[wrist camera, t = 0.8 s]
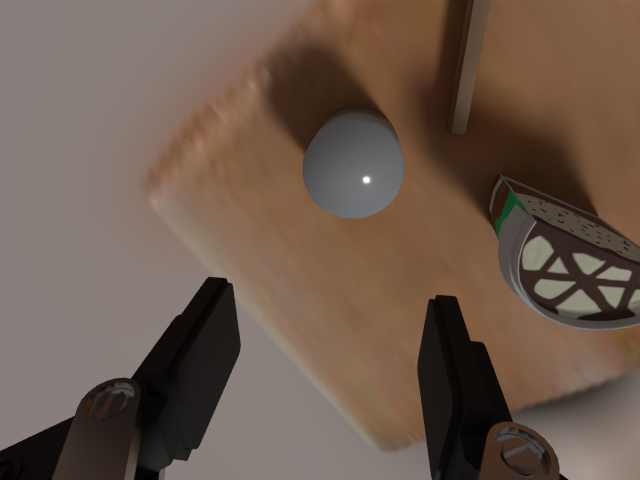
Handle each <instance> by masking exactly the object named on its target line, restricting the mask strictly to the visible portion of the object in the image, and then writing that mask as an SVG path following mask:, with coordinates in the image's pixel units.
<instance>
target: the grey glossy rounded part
mask: <svg viewBox="0 0 640 480" xmlns="http://www.w3.org/2000/svg"><path fill="white" fill-rule="evenodd" d="M403 176H404V164H403V158H402V154H401V150H400V146H399V142H398V137H397V134H396V132H395V129H394V128H393V126H392V124H391V123H390V122H389V120H388V119H387V118H386V117H385V116H383V115H382V114H381V113H379V112H377V111H375V110H373V109H370V108H366V107H359V106H358V107H348V108H345V109H342V110H339V111H337V112H336V113H334V114H333V115H331V116H330V117H329V118H328V119H327V120H326V121H325V122H324V123H323V125H322V126H321V128H320V129H319V131H318V132H317V134H316V135H315V137H314V139H313V140H312V142H311V143H310V145H309V147H308V149H307V151H306V153H305V156H304V161H303V179H304V183H305V186H306V188H307V190H308V192H309V194H310V196H311V197H312V199H313V200H314V201H315V202H316V203H317V204H318V205H319V206H320V207H321V208H323V209H324V210H325V211H327V212H329V213H331V214H333V215H336V216H339V217H343V218H363V217H368V216H371V215H373V214H375V213H377V212H379V211H381V210H382V209H384V208H385V207H386V206H387V205H389V204H390V203H391V202H392V200H393V199H394V198H395V196H396V195H397V193H398V191H399V189H400V187H401V184H402V181H403Z"/></svg>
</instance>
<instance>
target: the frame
mask: <svg viewBox="0 0 640 480" xmlns="http://www.w3.org/2000/svg"><path fill="white" fill-rule="evenodd" d="M490 1H491V0H468V1H467V7H466V13H465V19H464V25H463V31H462V37H461V43H460V49H459V56H458V62H457V68H456V74H455V80H454V86H453V92H452V98H451V104H450V111H449V117H448V123H447V130H448V131H449V132H450V133H451V134H458V135H465V133H466V128H467V122H468V117H469V112H470V107H471V101H472V96H473V91H474V85H475V80H476V75H477V69H478V64H479V59H480V54H481V48H482V43H483V38H484V32H485V27H486V22H487V17H488V11H489V6H490Z"/></svg>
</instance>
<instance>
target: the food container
mask: <svg viewBox="0 0 640 480" xmlns="http://www.w3.org/2000/svg"><path fill="white" fill-rule="evenodd" d="M488 209H489V218H490V221H491V223H492V226H493V228H494V231H495V233H496V235H497V238H498V240H499V250H498V258H499V264H500V269H501V272H502V274H503V277H504V279H505V281H506V282H507V284H508V286H509V287H510V289H511V290H512V291H513V292H514V293H515V294H516V295H517V296H518V297H519V298H520V299H521V300H522V301H523V302H524V303H526V304H527V305H528V306H529V307H530V308H532V309H533V310H534V311H536V312H537V313H538V314H540V315H542V316H544V317H546V318H548V319H550V320H552V321H554V322H556V323H559V324H562V325H565V326H568V327H573V328H579V329H586V330H613V329H620V328H627V327H631V326H635V325H640V247H639V246H638V245H637V244H635V243H634V242H632V241H631V240H630V239H628V238H627V237H626V236H624V235H623V234H622V233H620V232H619V231H617V230H616V229H615V228H613V227H612V226H611V225H609V224H608V223H606V222H605V221H604V220H602V219H601V218H600V217H598V216H595V215H593V214H591V213H589V212H586V211H584V210H582V209H579V208H577V207H575V206H572V205H570V204H568V203H565V202H563V201H561V200H559V199H556V198H554V197H552V196H549V195H547V194H545V193H542V192H540V191H538V190H536V189H533V188H531V187H529V186H526V185H524V184H522V183H519V182H517V181H515V180H512V179H510V178H508V177H506V176H503V175H501V174H499V175H498V176H497V178H496V180H495V182H494V184H493V185H492V188H491V192H490V196H489V201H488Z"/></svg>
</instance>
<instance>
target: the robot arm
mask: <svg viewBox="0 0 640 480" xmlns="http://www.w3.org/2000/svg"><path fill="white" fill-rule="evenodd" d="M240 346H241V343H240V335H239V329H238V321H237V313H236V306H235V298H234V291H233V285H232V283H228V281H227V279H226V278H217V277H208V278H207V279H206V280H205V282H204V283H203V285H202V286H201V287H200V289H199V290H198V292H197V293H196V294H195V296H194V298H193V299H192V300H191V301H190V303H189V304H188V306H187V307H186V309H185V310H184V311H183V313H182V314H180V315H178V316H176V317H175V319H174V320H173V321H172V322H171V324H170V325H169V327H168V328H167V329H166V331H165V332H164V333H163V335H162V336H161V338H160V339H159V340H158V342H157V343H156V344H155V346H154V347H153V349H152V350H151V352H150V353H149V354H148V356H147V357H146V358H145V360H144V361H143V362H142V364H141V365H140V367H139V368H138V369H137V371H136V372H135V374H134V375H133V376H132V378H131V379H129V378H115V379H112V380H108V381H106V382H103V383H101V384H99V385H97V386H96V387H95V388H93V389H92V390H91V391H89V392H88V393H87V394H86V395H85V397H84V398H83V399H82V400H81V402H80V404H79V406H78V408H77V410H76V413H75V416H73V417H71V418H69V419H67V420H65V421H63V422H61V423H59V424H57V425H54V426H52V427H50V428H48V429H46V430H44V431H42V432H39V433H37V434H35V435H33V436H31V437H29V438H27V439H25V440H23V441H20V442H18V443H16V444H14V445H12V446H10V447H8V448H6V449H4V450H1V451H0V480H164V478H165V467H167V466H169V465H170V464H171V463H172V461H173V459H176V460H184V461H187V460H188V458H189V455H190V453H191V451H192V449H197V448H198V447H199V445H200V443H201V441H202V439H203V436H204V434H205V432H206V429H207V427H208V425H209V423H210V420H211V418H212V416H213V413H214V411H215V409H216V406H217V404H218V402H219V399H220V397H221V395H222V393H223V390H224V388H225V386H226V383H227V381H228V379H229V376H230V374H231V372H232V369H233V367H234V365H235V362H236V360H237V358H238V356H239V353H240ZM417 370H418V379H419V387H420V395H421V402H422V410H423V418H424V425H425V433H426V440H427V447H428V455H429V463H430V471H431V477H432V480H568V479H567V478H565V477H564V476H563V475H561V474H560V473H559V463H558V458H557V456H556V454H555V452H554V450H553V448H552V447H551V446H550V444H549V443H548V442H547V441H546V440H545V439H544V438H543V437H542V436H541V435H539V434H538V433H537V432H536V431H534V430H532V429H530V428H528V427H527V426H525V425H522V424H519V423H515V422H513V420H512V418H511V415H510V412H509V409H508V407H507V404H506V401H505V398H504V396H503V393H502V390H501V387H500V385H499V382H498V379H497V376H496V374H495V371H494V368H493V366H492V363H491V360H490V357H489V355H488V352H487V349H486V347H485V345H484V344H483V343H482V342H476V341H470V338H469V334H468V331H467V328H466V325H465V322H464V319H463V316H462V313H461V310H460V306H459V303H458V300H457V298H456V297H455V296H445V295H436V297H435V299H429V302H428V308H427V313H426V319H425V324H424V330H423V336H422V341H421V347H420V352H419V358H418V367H417Z"/></svg>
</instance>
